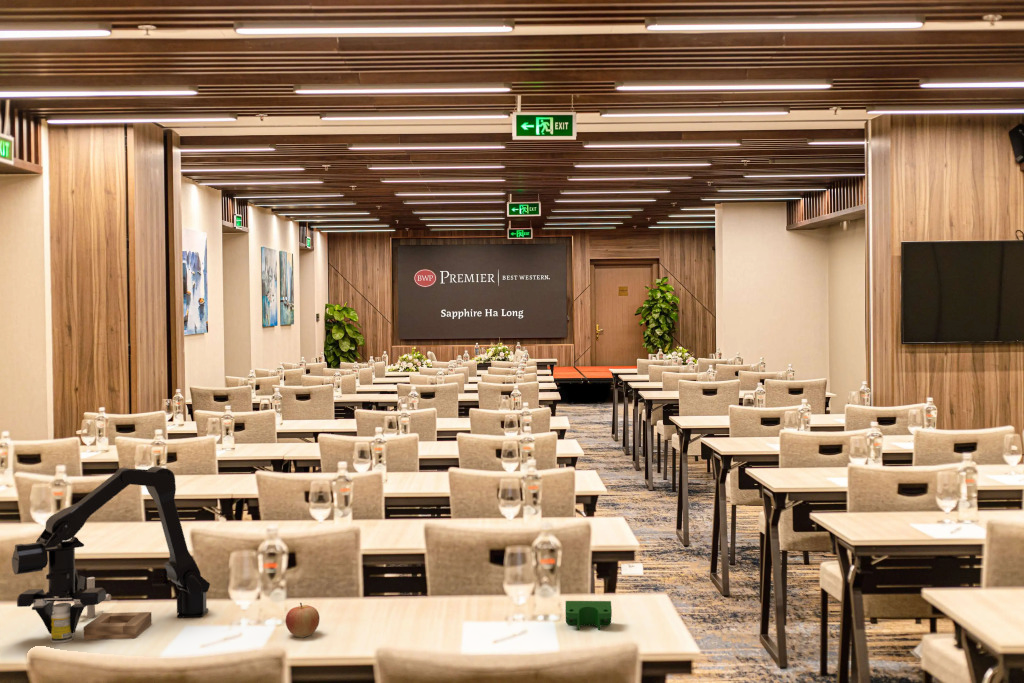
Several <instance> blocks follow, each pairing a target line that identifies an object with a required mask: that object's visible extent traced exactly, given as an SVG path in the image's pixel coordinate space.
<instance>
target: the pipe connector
mask: <svg viewBox="0 0 1024 683" xmlns="http://www.w3.org/2000/svg"><path fill="white" fill-rule="evenodd" d="M95 578H96V577H94V576H90V577H86V590H87V589H88V588H96V587H95V586H96V585H95V584H96V583H95V582H96V579H95ZM111 600H112V595H111V594H109V593H106V599H105V600H103V601H102V602H110V601H111ZM86 614H87V615H86V616H87V618H89V619H91V618H96V605H87V606H86Z"/></svg>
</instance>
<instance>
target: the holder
mask: <svg viewBox="0 0 1024 683" xmlns="http://www.w3.org/2000/svg"><path fill="white" fill-rule="evenodd" d="M151 625H152V611H141V612H139V611H137V612H135V611H134V612H133V611H132V612H130V611H129V612H102V613H101V614H99V615H98V616H97V617H94V619H93V620H90V622H88V623H87V624H85V625H84V626H83V640H115V639H116V640H120V639H121V640H122V639H124V640H125V639H136V638H138V636H139V635H141V634H142V633H143V632H144V631H145V630H147V628H149V627H150V626H151Z"/></svg>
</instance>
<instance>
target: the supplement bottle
mask: <svg viewBox="0 0 1024 683" xmlns="http://www.w3.org/2000/svg"><path fill="white" fill-rule="evenodd" d="M71 606H72V604H71V603H69V602H61V603H56V604H55V603H54V605H53V610H52V611H53V614H52V615H51V634H50V635H51V642H52V643H55V644H60V643H68V642H71V641H72V640H74V639H73V638H74V633H71V628H70V607H71Z"/></svg>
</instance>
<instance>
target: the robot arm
mask: <svg viewBox="0 0 1024 683" xmlns="http://www.w3.org/2000/svg"><path fill="white" fill-rule="evenodd" d="M130 485H134V486H144V487H145V488H146V490H147V492H148V494H149V495H150V497H151V498H152V500H153V501H154V502H155V504H156V509H157V512H158V515H159V519H160V522H161V527H162V529H163V533H164V534H163V535H164V538H165V541H166V546H167V548H168V552H169V558H168V561H167V562H163V566H164V568H165V570H166V578H168V579H170V581H171V582H172V583H173V584H175V585H176V588H177V589H178V590H179V591H178V596H177V597H176V613H177V614H176V617H177V618H193V617H194V618H200V617H203V616H205V615H206V614H207V613H208V611H209V607H208V608H207V593H208V592H209V589H210V585H211V584H210V582H209V581H208V580H207V579H205V578H204V577H203V576H201V571H200V569H199V566H198V565H197V562H196V561H195V559H194V557H193V556H192V554H191V553H190V551H189V549H188V545H187V542H186V538H185V534H184V531H183V528H182V524H181V520H180V519H181V518H180V516H179V512H178V508H177V504H176V501H175V496H176V490H177V486H176V477H175V473H174V472H173V471H172V469H171V470H170V469H169V468H165V467H161V466H151V467H149V468H148V469H143V468H129V467H120V468H118V469H117V470H116V471H115V472H114V473H113V474H112V475H111V476H109V477H108V478H107V479H106V480H104V481H103V482H101V483H100V484H99V485H98V486H97V487H96V488H94V489H93V490H91V491H90V492H89V493H88V494H87V495H85V496H84V497H83V498H81V500H79V501H78V502H76V503H74V504H73V505H71V506H68V507H65V508H63V509H61V510H60V511H58V512H56V513H54V514H52V515H51V516H49V517H48V519H47V520H46V521H45V528H44V530H43V531H42V532H41V534H40V535H39V536H38V537H37V539H36V541H35V542H32V543H26V544H24V543H18V544H15V546H14V550H13V554H12V557H11V568H12V571H13V574H14V575H15V576H16V575H23V574H29V573H34V572H35V573H36V572H42V571H43V570H44V568H47V569H48V571H47V572H48V573H47V574H46V577H45V578H46V580H48V591H47V592H45V591H44V589H43V588H36V589H33V588H32V589H27V590H25V591H23V592H21V593H20V594H19V595H18V596H17V599H16V607H19V608H20V607H21V608H22V607H25V608H26V607H31V606H32V607H31V610H32V611H35V612H36V613H37V614H38V616H39V617H40V619H41V621H42V622H43V624H44V626H45V628H46V629H47V631H48V633H49V634H50V635H51V615H52V614H53V611H52V610H53V605H55V602H73V604H72V605H71V607H70V628H71V633H73V634H74V633H75V632H76V629H77V627H78V623H79V620H80V618H81V615H82V613H83V611H84V610H85V608H87V605H95V606H97V605H99V604H100V603H102V602H104V601H103V600H105V599H106V594H107V591H106V589H104V587H95V588H88V589H87V588H86V589H85V590H84V588H85V581H86V577H85V576H82V575H78V569H77V568H76V567H75V566H76V563H75V562H76V561H75V560H76V559H75V558H76V552H75V550H76V548H83V547H84V546H85V544H84V543H83V542H81V540H79V538H78V537H76V536H75V535H77V534H78V533H79V531H81V529H82V528H83V527H84V525H85V524H86V522H87V520H89V518H90V517H91V516H92V515H94V513H96V512H97V511H98V510H99V509H101V508H102V507H103V506H104V505H106V504H107V503H108V502H110V501H111V500H112V499H113V498H115V496H117V495H118V494H119V493H121V492H122V491H123V490H124V489H125V488H127V487H128V486H130ZM47 566H48V567H47ZM78 591H81V592H78Z"/></svg>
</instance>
